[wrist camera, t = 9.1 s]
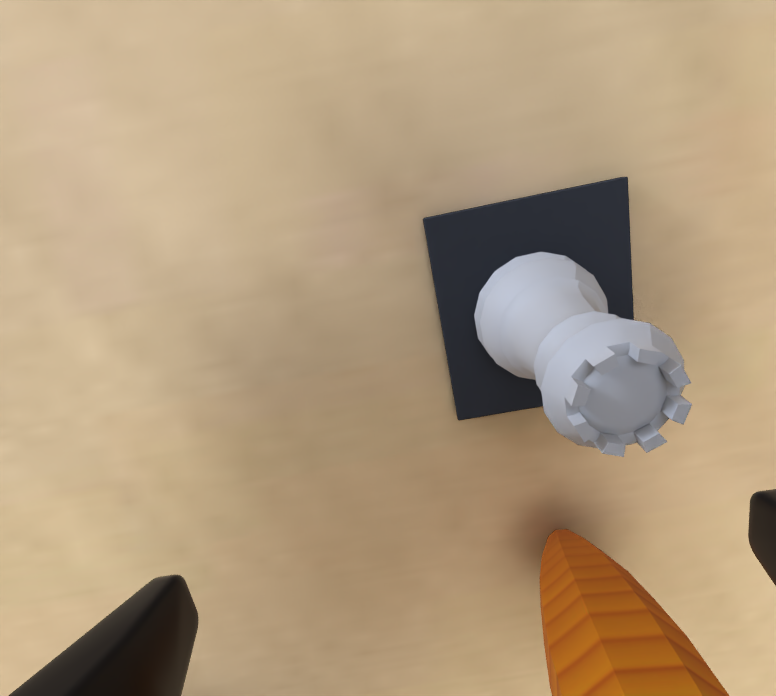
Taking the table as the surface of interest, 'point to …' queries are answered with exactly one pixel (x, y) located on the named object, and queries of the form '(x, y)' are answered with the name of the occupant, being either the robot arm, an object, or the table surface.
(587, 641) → the carrot
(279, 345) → the table surface
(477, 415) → the coaster
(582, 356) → the rook chess piece
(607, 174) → the table surface
